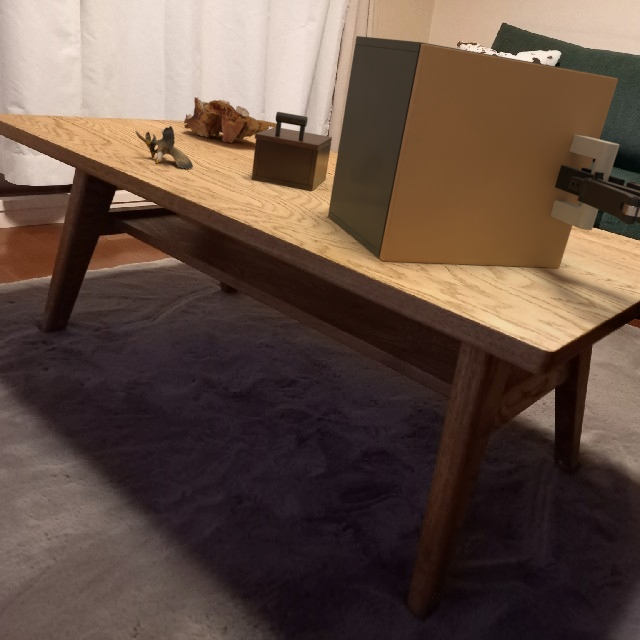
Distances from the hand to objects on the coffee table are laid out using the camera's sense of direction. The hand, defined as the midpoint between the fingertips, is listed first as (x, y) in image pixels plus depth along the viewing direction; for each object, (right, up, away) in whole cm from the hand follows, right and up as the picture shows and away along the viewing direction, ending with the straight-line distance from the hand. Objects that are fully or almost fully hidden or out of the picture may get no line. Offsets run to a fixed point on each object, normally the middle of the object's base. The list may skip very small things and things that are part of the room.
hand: (571, 177), depth 78 cm
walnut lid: (-35, +14, +32) cm, 49 cm away
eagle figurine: (-57, +9, +32) cm, 66 cm away
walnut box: (-36, +8, +35) cm, 51 cm away
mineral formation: (-51, +22, +64) cm, 85 cm away
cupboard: (-15, -6, +10) cm, 19 cm away
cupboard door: (-10, -12, -1) cm, 16 cm away
